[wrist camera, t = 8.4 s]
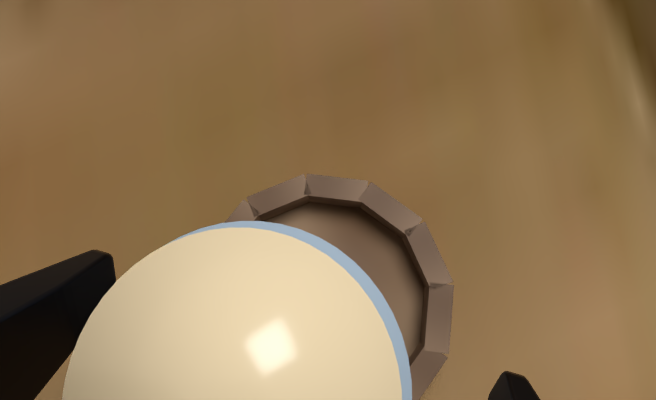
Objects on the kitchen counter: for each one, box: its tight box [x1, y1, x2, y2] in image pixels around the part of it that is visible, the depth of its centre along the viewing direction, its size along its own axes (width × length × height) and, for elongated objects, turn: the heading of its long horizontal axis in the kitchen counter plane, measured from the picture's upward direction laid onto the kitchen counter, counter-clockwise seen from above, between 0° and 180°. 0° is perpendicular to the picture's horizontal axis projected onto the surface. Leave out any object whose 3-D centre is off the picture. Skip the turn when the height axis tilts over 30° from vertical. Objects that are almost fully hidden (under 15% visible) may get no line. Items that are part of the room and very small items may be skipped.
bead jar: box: [62, 221, 412, 400], centre depth 11 cm, size 5×5×13 cm
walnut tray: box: [225, 174, 454, 400], centre depth 18 cm, size 10×10×2 cm
